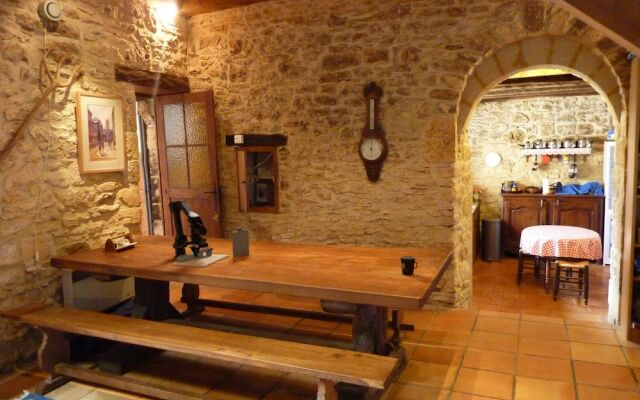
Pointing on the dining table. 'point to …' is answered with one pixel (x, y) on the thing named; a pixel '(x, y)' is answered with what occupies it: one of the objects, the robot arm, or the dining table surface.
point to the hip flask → (240, 242)
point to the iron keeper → (207, 250)
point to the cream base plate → (202, 260)
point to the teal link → (188, 257)
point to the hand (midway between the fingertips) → (196, 256)
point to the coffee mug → (408, 265)
